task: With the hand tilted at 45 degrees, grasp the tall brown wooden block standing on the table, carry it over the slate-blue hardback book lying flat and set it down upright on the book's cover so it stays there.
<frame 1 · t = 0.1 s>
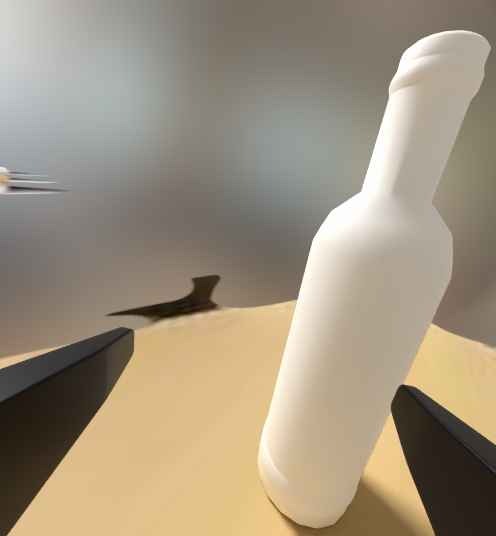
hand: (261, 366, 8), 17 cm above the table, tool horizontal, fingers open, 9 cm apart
bottle: (300, 472, 21), on the table
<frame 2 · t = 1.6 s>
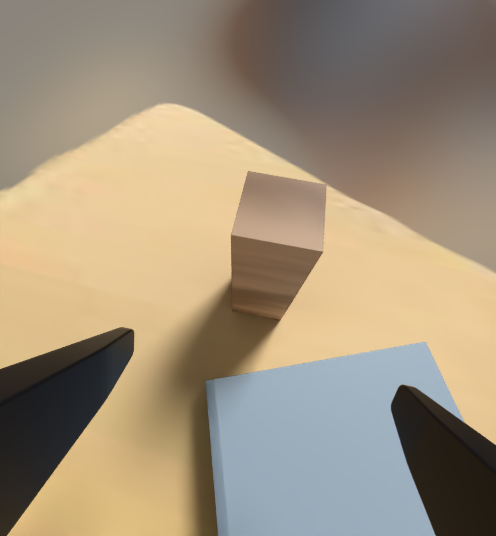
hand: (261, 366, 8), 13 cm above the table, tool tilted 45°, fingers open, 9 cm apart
book: (333, 450, 18), on the table
brown wooden block: (260, 292, 24), on the table
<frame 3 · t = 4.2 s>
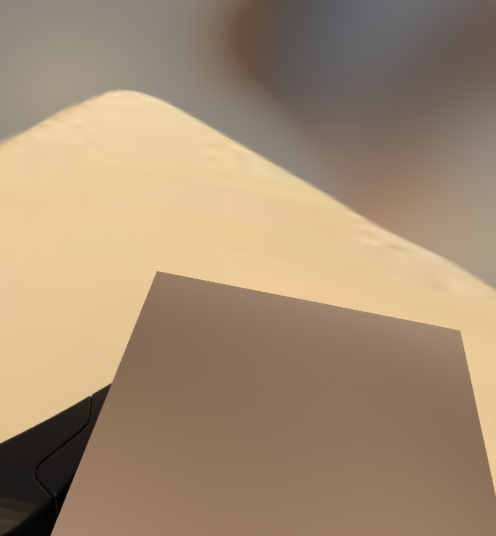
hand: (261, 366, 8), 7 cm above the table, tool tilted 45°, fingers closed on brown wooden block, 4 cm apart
brown wooden block: (243, 415, 13), on the table, touching gripper
when the fingers open (10 cm above the table, at t = 7.6 s): brown wooden block stays where it is, resting on book.
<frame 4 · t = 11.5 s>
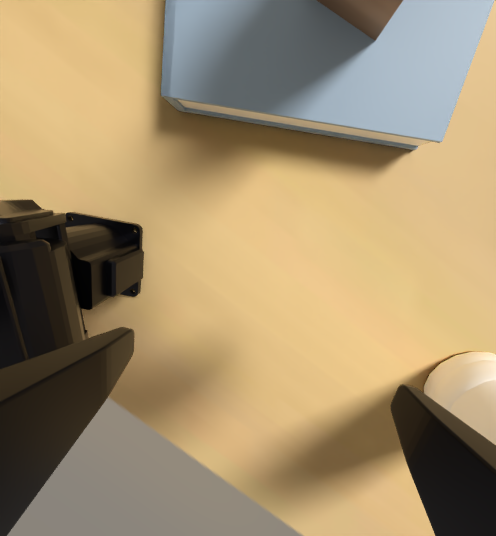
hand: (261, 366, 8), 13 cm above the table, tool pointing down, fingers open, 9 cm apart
book: (314, 26, 16), on the table
bottle: (466, 385, 22), on the table
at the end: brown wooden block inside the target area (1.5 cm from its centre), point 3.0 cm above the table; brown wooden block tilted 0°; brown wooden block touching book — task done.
